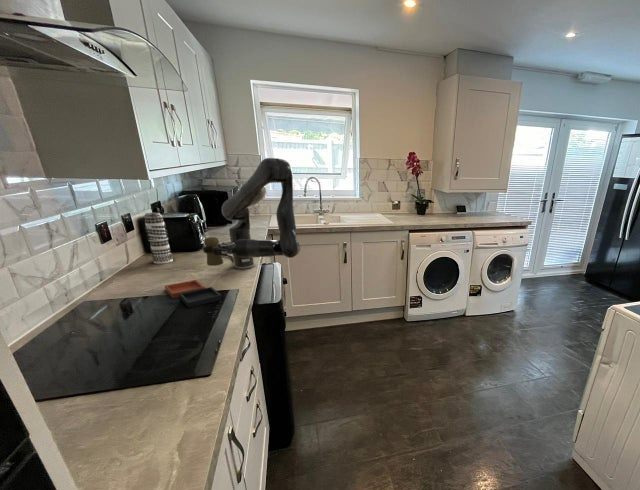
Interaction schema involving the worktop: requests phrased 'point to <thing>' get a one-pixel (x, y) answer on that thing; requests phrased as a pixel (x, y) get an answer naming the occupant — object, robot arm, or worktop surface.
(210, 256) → the cork
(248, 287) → the worktop surface
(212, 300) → the charcoal tray
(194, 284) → the terracotta tray
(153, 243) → the white patterned cylinder
